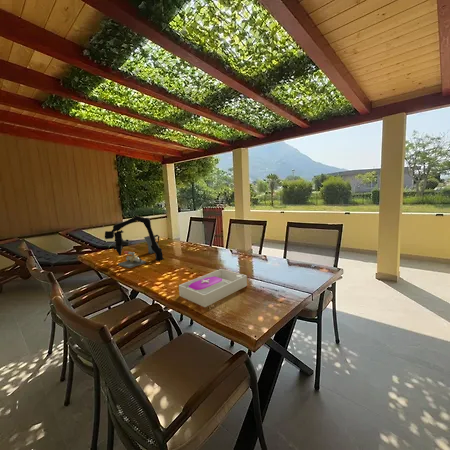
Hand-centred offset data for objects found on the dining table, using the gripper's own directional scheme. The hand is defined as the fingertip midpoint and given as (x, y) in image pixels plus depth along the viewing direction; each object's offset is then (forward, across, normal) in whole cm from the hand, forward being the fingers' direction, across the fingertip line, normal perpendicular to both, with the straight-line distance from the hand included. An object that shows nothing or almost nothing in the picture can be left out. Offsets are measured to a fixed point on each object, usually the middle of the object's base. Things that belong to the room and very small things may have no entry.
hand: (120, 255), depth 211 cm
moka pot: (+8, +30, -26) cm, 41 cm away
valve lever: (0, 0, -8) cm, 8 cm away
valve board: (+8, -5, -10) cm, 14 cm away
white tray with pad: (+8, -87, -68) cm, 111 cm away
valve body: (+6, -4, -11) cm, 14 cm away
